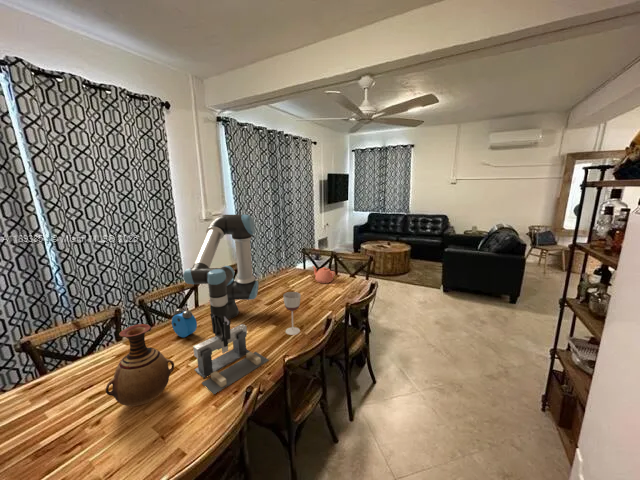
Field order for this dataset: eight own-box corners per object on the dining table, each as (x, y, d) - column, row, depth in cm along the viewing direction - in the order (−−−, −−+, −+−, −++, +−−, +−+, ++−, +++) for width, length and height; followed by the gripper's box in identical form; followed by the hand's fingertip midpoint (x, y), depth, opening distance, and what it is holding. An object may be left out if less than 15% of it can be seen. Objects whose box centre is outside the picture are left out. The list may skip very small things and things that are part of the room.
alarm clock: (198, 334, 152) (195, 310, 149) (189, 340, 146) (186, 314, 143) (181, 329, 157) (179, 305, 154) (172, 335, 152) (169, 310, 149)
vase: (105, 427, 94) (90, 350, 88) (119, 391, 111) (107, 323, 104) (174, 407, 103) (165, 335, 97) (178, 376, 119) (170, 313, 113)
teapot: (308, 281, 234) (307, 267, 231) (316, 276, 246) (316, 263, 244) (330, 286, 223) (331, 271, 220) (338, 280, 236) (339, 266, 233)
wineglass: (298, 336, 151) (298, 298, 146) (282, 334, 153) (281, 297, 148) (302, 327, 159) (302, 292, 155) (287, 326, 161) (286, 291, 156)
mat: (201, 383, 115) (201, 382, 115) (255, 352, 136) (255, 351, 136) (214, 395, 109) (214, 394, 109) (268, 360, 130) (268, 359, 130)
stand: (194, 370, 123) (192, 348, 120) (240, 346, 141) (239, 326, 139) (203, 378, 118) (201, 355, 115) (249, 352, 136) (248, 331, 134)
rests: (211, 378, 117) (210, 373, 117) (250, 356, 133) (250, 351, 132) (221, 387, 112) (220, 382, 112) (261, 362, 128) (260, 357, 127)
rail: (198, 358, 117) (197, 349, 116) (194, 355, 119) (193, 346, 118) (247, 334, 136) (246, 326, 135) (242, 331, 138) (242, 323, 137)
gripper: (201, 301, 126) (206, 347, 131) (221, 312, 115) (225, 361, 120) (216, 296, 131) (220, 340, 136) (236, 306, 121) (240, 353, 126)
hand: (222, 350), depth 128 cm, fingers closed on rail, 3 cm apart
